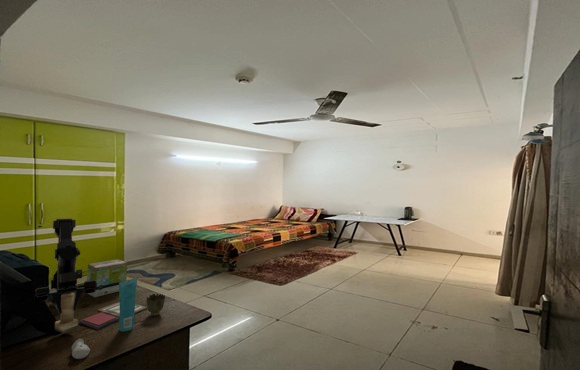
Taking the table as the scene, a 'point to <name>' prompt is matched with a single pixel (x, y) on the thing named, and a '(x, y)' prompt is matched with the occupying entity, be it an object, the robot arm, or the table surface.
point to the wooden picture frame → (115, 309)
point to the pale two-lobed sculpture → (80, 349)
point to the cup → (155, 304)
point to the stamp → (66, 314)
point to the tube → (127, 303)
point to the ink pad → (99, 320)
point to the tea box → (107, 276)
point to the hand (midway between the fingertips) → (67, 311)
